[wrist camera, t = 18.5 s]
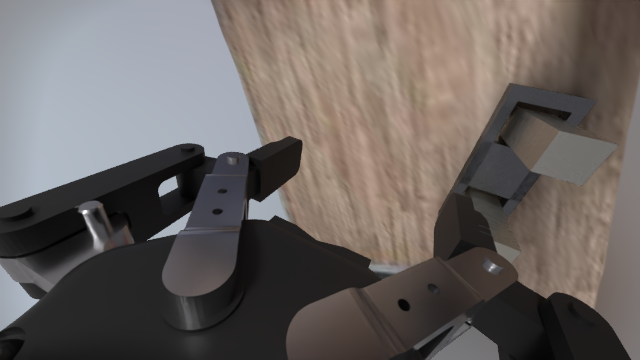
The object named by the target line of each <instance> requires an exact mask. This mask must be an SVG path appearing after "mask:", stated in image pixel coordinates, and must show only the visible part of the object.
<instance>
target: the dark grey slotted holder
mask: <svg viewBox="0 0 640 360" xmlns="http://www.w3.org/2000/svg"><path fill="white" fill-rule="evenodd" d="M518 101H520V102H524V103H529V104H534V105H538V106H543V107H547V108H552V109H557V110H561V111H562V113H561V114H560V116H559V118H561V119H563V120H565V121H567V122H570V123H572V124H574V125H576V126H578V125H579V123H580V122H581V121H582V120H583V118H584V117H585V116H586V114H587V113H588V112H589V110H590V109H591V108H592V106H593V105H594V104H595V103H596V101H597V100H593V99H588V98H584V97H579V96H574V95H569V94H563V93H558V92H553V91H548V90H543V89H538V88H533V87H528V86H523V85H518V84H513V83H509V85H508V87H507V89H506V91H505V92H504V94H503V96H502V98H501V100H500V102H499V103H498V105H497V107H496V109H495V111H494V112H493V114H492V116H491V118H490V120H489V122H488V123H487V125H486V127H485V129H484V131H483V132H482V134H481V136H480V138H479V140H478V141H477V143H476V145H475V147H474V149H473V151H472V152H471V154H470V156H469V158H468V160H467V161H466V163H465V165H464V167H463V169H462V171H461V172H460V174H459V176H458V178H457V180H456V181H455V183H454V185H453V187H452V189H451V190H450V192H449V194H448V196H447V198H446V200H445V201H444V203H443V205H442V207H441V209H440V210H439V215H440V213H441V212H442V210H443V208H444V206H445V204H446V203H447V201H448V199H449V197H450V196H451V194H452V193H453V192H455V193H458V194H461V195H463V193H464V191H465V190H466V188H467V186H470V187H474V188H477V189H480V190H483V191H486V192H489V193H492V194H495V195H498V196H501V197H502V198H501V199H500V201H499V202H500V204H501V206H502V208H503V211H504V213H505V215H506V218H508V217H509V215H510V214H511V213H512V211H513V210H514V209H515V207H516V206H517V205H518V203H519V202H520V201H521V199H522V198H523V197H524V196H525V194H526V193H527V192H528V190H529V189H530V188H531V186H532V185H533V184H534V182H535V181H536V180H537V179H538V177H539V176H540V175H541V174H539V173H535V172H532V171H530V170H529V169H528V168H527V167H526V165H525V164H524V163H523V162H522V161H521V159H520V158H519V157H518V156H517V155H516V154H515V152H514V151H513V150H512V149H511V148H510V146H509V145H508V144H507V143H505V142H502V141H498V140H495V139H496V137H497V135H498V134H499V132H500V130H501V129H502V127H503V125H504V124H505V122H506V120H507V118H508V117H509V115H510V113H511V112H512V110H513V108H514V107H515V105H516V103H517V102H518Z"/></svg>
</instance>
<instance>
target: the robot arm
mask: <svg viewBox="0 0 640 360" xmlns="http://www.w3.org/2000/svg"><path fill="white" fill-rule="evenodd" d="M302 145H303V144H302V140H299V139H296V138H293V137H290V136H288V137H286V138H284V139H282V140H280V141H277V142H271V143H269V144H267V145H265V146H262V147H261V148H259V149H256V150H254V151H252V152H250V153H248V154H246V155H245V154H243V153H239V152H227V153H223V154H221V155H219V156H218V158H211V157H207V156H205V152H204V147H202V146H201V145H197V144H190V143H187V144H180V145H176V146H173V147H170V148H167V149H165V150H162V151H159V152H156V153H153V154H151V155H147V156H145V157H142V158H139V159H136V160H133V161H130V162H128V163H125V164H122V165H119V166H116V167H113V168H110V169H107V170H105V171H102V172H99V173H96V174H93V175H90V176H88V177H85V178H82V179H79V180H76V181H73V182H70V183H68V184H65V185H62V186H59V187H56V188H53V189H51V190H48V191H45V192H42V193H39V194H36V195H33V196H30V197H28V198H25V199H22V200H19V201H16V202H13V203H11V204H8V205H5V206H2V207H0V264H1V266H2V267H3V268H4V269H5V270H6V271H7V273H8V274H9V275H10V276H11V277H12V279H13V280H15V281H16V282H19V284H20V285H21V286H22V287H23V288H24V289H25V291H26V292H27V293H28V294H29V295H30V296H31V297H32V298H34V299H40V300H39V301H38V302H37V303H36V304H35V305H34V306H33V307H31V308H30V309H29V310H28V311H27V312H25V313H24V314H23V315H22V316H21V317H19V318H18V319H17V320H16V321H14V322H13V323H11V324H10V325H9V326H7V327H6V328H5V329H3V330H2V331H0V360H430V359H431V358H432V357H434V356H435V355H436V354H437V353H438V352H439V351H440V350H442V349H443V348H444V347H446V346H447V345H448V344H450V343H451V342H452V341H454V340H455V339H456V338H458V337H459V336H460V335H462V334H463V333H464V332H466V331H467V330H468V329H470V328H471V327H472V326H473V327H475V328H476V329H478V330H479V331H480V332H481V333H483V334H484V335H485V336H487V337H488V338H489V339H490V340H492V341H493V342H494V343H496V344H497V345H498V352H499V359H500V360H631V359H630V357H629V355H628V354H627V352H626V350H625V349H624V347H623V345H622V343H621V342H620V340H619V338H618V337H617V335H616V333H615V332H614V330H613V328H612V327H611V326H610V325H609V323H608V322H607V321H606V320H605V319H604V318H603V317H602V316H601V315H600V314H599V313H597V312H596V311H595V310H594V309H592V308H591V307H590V306H588V305H587V304H585V303H584V302H582V301H580V300H578V299H577V298H575V297H572V296H570V295H568V294H564V293H559V292H556V293H553V294H552V295H550V296H549V297H548V298H547V299H546V298H544V297H542V296H541V295H539V294H537V293H536V292H534V291H532V290H531V289H529V288H527V287H526V286H524V285H523V284H521V283H520V282H518V281H517V280H518V273H517V271H516V269H515V268H514V266H513V265H512V264H511V263H510V262H509V261H508V260H507V259H505V258H504V257H503V256H501V255H500V254H498V253H497V250H496V246H495V243H494V240H493V237H492V236H491V235H492V233H491V230H490V227H489V224H488V221H487V219H486V218H485V217H484V216H483V215H482V214H481V212H478V211H475V209H474V205H473V201H472V198H470V197H467V196H464V195H461V194H458V193H455V192H453V193H452V194H451V196H450V197H449V199H448V201H447V203H446V204H445V206H444V208H443V210H442V212H441V213H440V215H439V217H438V219H437V221H436V224H435V228H434V253H433V258H431V259H429V260H427V261H424V262H422V263H420V264H417V265H415V266H413V267H411V268H408V269H406V270H404V271H401V272H399V273H397V274H394V275H392V276H390V277H388V278H385V279H383V280H381V279H380V278H379V277H378V276H377V275H376V274H375V273H374V272H373V271H372V270H370V269H369V268H368V267H369V265H370V262H371V259H368V258H366V257H364V256H362V255H360V254H358V253H355V252H353V251H351V250H349V249H347V248H344V247H340V246H336V245H332V244H328V243H324V242H320V241H317V240H315V239H314V238H313V237H311V236H310V235H309V234H307V233H306V232H305V231H303V230H302V229H301V228H299V227H298V226H297V225H295V224H293V223H291V222H288V221H286V220H284V219H282V218H279V217H278V216H276V215H275V216H274V217H273V218H272V219H271V220H269V221H266V220H257V219H254V220H253V219H252V220H248V212H249V200H250V199H251V198H252V199H254V200H256V201H259V202H261V201H263V200H264V199H265V198H266V197H268V196H269V195H270V194H272V193H273V192H274V191H275V190H277V189H278V188H279V187H281V186H282V185H283V184H284V183H286V182H287V181H288V180H289V179H291V178H292V177H293V176H295V175H296V173H297V172H298V170H299V167H300V160H301V153H302ZM174 176H176V179H177V184H178V188H176V189H175V190H173V191H171V192H169V193H167V194H165V195H163V196H161V197H159V194H158V188H159V186H160V184H161V183H162V182H163V181H165V180H168V179H170V178H172V177H174ZM190 211H191V214H190V217H189V219H188V222H187V224H186V227H185V229H184V230H181V231H180V232H179V233H178V234H176V235H171V236H166V237H162V238H157V239H152V240H148V239H150V238H151V237H152V236H154V235H155V234H157V233H159V232H160V231H162V230H163V229H165V228H166V227H168V226H169V225H171V224H172V223H174V222H175V221H177V220H178V219H180V218H181V217H183V216H184V215H186V214H187V213H189V212H190ZM146 240H148V241H146Z"/></svg>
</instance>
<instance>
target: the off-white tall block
mask: <svg viewBox="0 0 640 360" xmlns="http://www.w3.org/2000/svg"><path fill="white" fill-rule="evenodd" d="M463 195H464V196H467V197H470V198H472V201H473V205H474V209H475V211H478V212H481V214H482V215H483V216H484V217H485V218H486V219H487V221H488V224H489V227H490V230H491V233H492V235H491V236H492V237H493V240H494V243H495V246H496V250H497V253H498V254H500V255H501V256H503V257H504V258H505V259H507V260H508V261H509V262H510V263H512V262H513V261H514V260H515V259H516V258H517V257H518V255H519V254H520V253H521V249H520V247H519V245H518V243H517V240H516V238H515V236H514V233H513V231H512V229H511V227H510V224H509V222H508V220H507V218H506V215H505V213H504V211H503V208H502V206H501V204H500V202H499V199H498V197H497V195H495V194H492V193H489V192H486V191H483V190H480V189H477V188H474V187H470V186H468V188H467V189H466V191H465V193H464V194H463Z"/></svg>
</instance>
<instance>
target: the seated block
mask: <svg viewBox="0 0 640 360" xmlns="http://www.w3.org/2000/svg"><path fill="white" fill-rule="evenodd" d="M500 136H501V137H502V138H503V139H504V141H505V142H506V143H507V144H508V145H509V146H510V148H511V149H512V150H513V151H514V152H515V154H516V155H517V156H518V157H519V158H520V159H521V161H522V162H523V163H524V164H525V165H526V167H527V168H528V169H529V170H530V171H532V172H535V173H539V174H542V175H546V176H549V177H553V178H556V179H560V180H563V181H567V182H570V183H573V184H577V185H580V186H582V185H583V184H584V183H585V182H586V181H587V180H588V179H589V177H590V176H591V175H592V174H593V173H594V172H595V171H596V170H597V169H598V167H599V166H600V165H601V164H602V163H603V162H604V161H605V160H606V159H607V157H608V156H609V155H610V154H611V153H612V152H613V151H614V150H615V148H616V147H617V146H618V144H616V143H614V142H611V141H609V140H607V139H605V138H603V137H600V136H598V135H596V134H594V133H592V132H589V131H587V130H585V129H583V128H581V127H578V126H576V125H574V124H572V123H570V122H567V121H565V120H563V119H561V118H559V117H556V116H554V115H552V114H548V113H543V112H539V111H534V110H530V109H525V108H521V107H516V108H515V110H514V111H513V113H512V115H511V116H510V118H509V120H508V121H507V123H506V125H505V126H504V128H503V130H502V131H501V133H500Z"/></svg>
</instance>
